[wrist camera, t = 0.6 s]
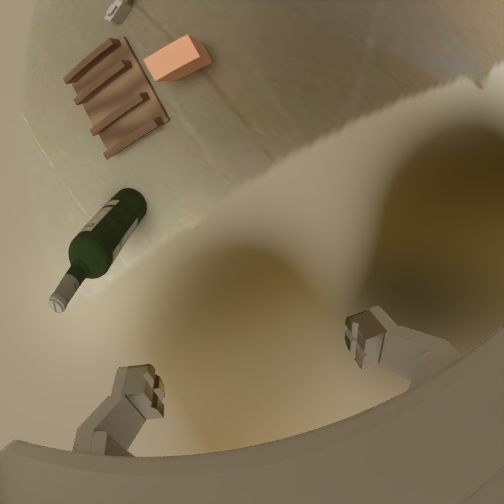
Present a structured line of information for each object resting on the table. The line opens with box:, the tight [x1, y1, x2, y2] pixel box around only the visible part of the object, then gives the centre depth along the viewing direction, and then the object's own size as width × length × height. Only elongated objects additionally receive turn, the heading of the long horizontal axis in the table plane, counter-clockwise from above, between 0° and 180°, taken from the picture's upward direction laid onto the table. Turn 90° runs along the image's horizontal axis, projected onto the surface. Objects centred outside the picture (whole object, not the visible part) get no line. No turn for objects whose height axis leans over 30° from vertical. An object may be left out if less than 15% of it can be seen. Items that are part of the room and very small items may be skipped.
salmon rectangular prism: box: [144, 35, 213, 81], centre depth 32 cm, size 4×7×11 cm, turn 114°
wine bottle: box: [49, 189, 146, 313], centre depth 41 cm, size 8×8×30 cm
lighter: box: [104, 0, 132, 24], centre depth 25 cm, size 7×2×8 cm, turn 146°
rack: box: [63, 37, 170, 159], centre depth 38 cm, size 20×14×4 cm
